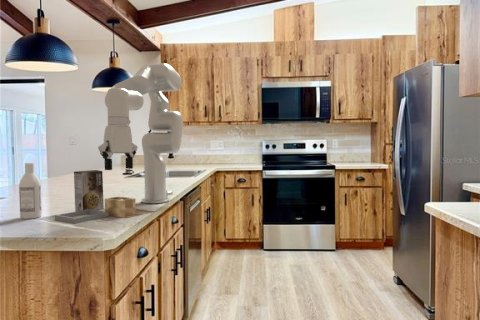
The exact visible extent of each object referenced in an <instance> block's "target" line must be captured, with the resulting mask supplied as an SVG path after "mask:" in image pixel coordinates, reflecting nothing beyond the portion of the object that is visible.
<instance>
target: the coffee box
mask: <svg viewBox="0 0 480 320" xmlns="http://www.w3.org/2000/svg"><path fill="white" fill-rule="evenodd" d="M103 179H104V178H103V170H98V169H94V170H93V169H91V170H88V169H87V170H79V171H77V170H75V171H73V183H74V187H73V188H74V189H73V190H74V212H76V211H81V210H87V209H90V210H97V211H101V210H105V202H104V185H103V184H104V182H103Z"/></svg>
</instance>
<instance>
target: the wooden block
mask: <svg viewBox="0 0 480 320" xmlns="http://www.w3.org/2000/svg"><path fill="white" fill-rule="evenodd" d="M119 199H123V200H119ZM136 205H137V204H136V198H135V197H126V196H114V197H107V198H104V212H109V217H114V216H116V217H115V218H120V217H126V216H131V215H135V214H136V209H137V207H136Z"/></svg>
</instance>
